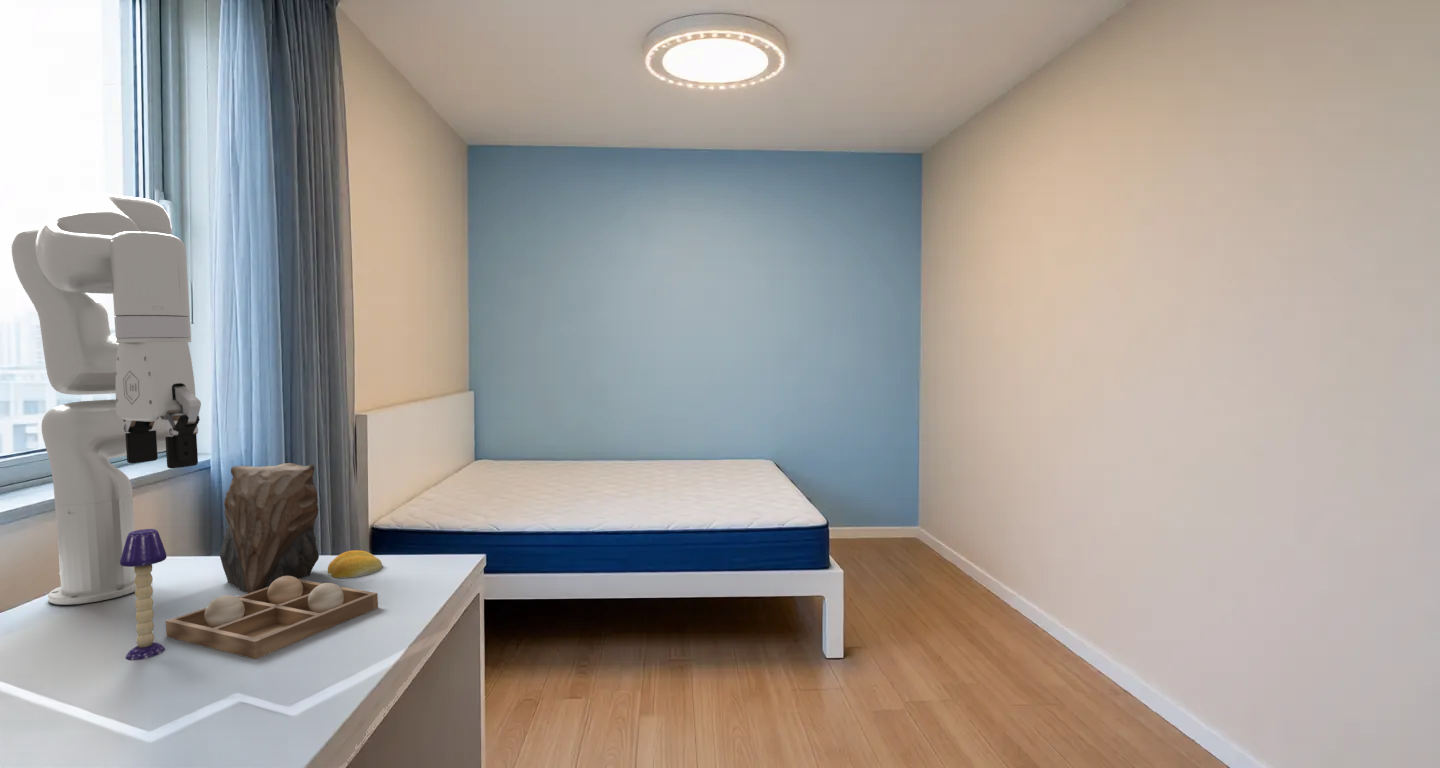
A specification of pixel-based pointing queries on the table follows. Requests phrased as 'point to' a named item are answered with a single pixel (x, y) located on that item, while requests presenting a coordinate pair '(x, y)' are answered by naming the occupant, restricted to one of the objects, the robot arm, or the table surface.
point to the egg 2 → (284, 590)
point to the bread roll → (353, 564)
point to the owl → (269, 525)
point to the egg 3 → (325, 597)
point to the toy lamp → (143, 587)
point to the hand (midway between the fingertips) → (162, 464)
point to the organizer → (269, 622)
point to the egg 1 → (224, 610)
